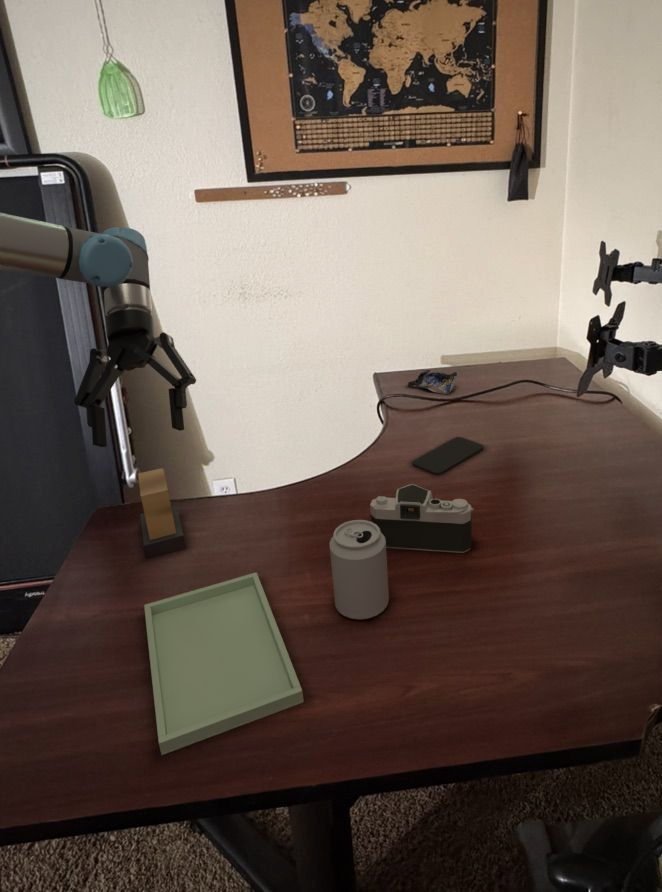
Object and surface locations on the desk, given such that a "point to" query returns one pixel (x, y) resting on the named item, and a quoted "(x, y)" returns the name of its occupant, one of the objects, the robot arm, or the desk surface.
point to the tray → (216, 661)
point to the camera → (423, 521)
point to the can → (359, 569)
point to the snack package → (434, 381)
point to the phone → (447, 455)
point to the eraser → (159, 516)
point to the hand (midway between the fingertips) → (138, 437)
